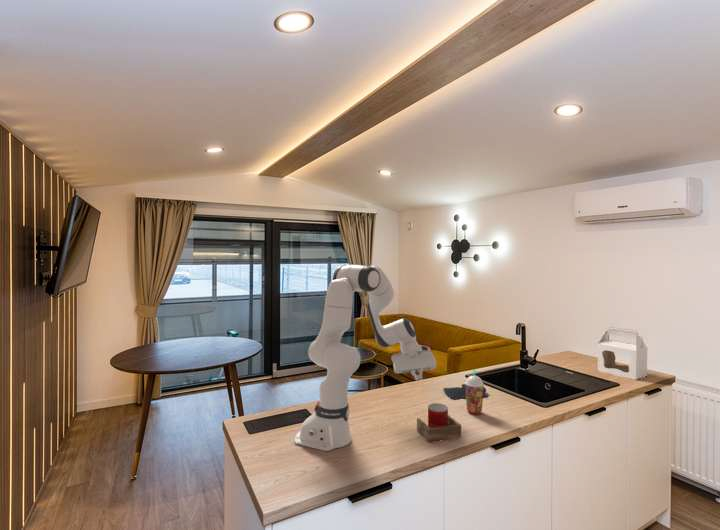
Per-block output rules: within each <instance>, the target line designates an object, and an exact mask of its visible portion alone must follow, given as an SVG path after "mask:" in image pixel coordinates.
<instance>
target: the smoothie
mask: <svg viewBox="0 0 720 530" xmlns="http://www.w3.org/2000/svg"><path fill="white" fill-rule="evenodd" d="M464 384H465V387H466V399H465V401H466V402H465V403H466V410H467V412H468V414H470V415H473V416H478V415H481V413H482V411H483V399H484V398H483V387H484V388H485V386H484V385H485V384H484V382H483V380H482V379H481V377H479V376H478V375H476V369H473V375H470V376H468V377H467V378H466V381H465V382H464Z"/></svg>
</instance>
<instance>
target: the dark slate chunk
mask: <svg viewBox="0 0 720 530" xmlns="http://www.w3.org/2000/svg"><path fill="white" fill-rule="evenodd" d="M443 392H444V393H445V394H446V395H447V396H448V397H449V399H451V400H453V401H460V399H464V400H466V387H465V383H464V384H463V383H462V384H461V387H460V386H459V387H458V386H456V387H444V388H443ZM486 392H487V389H486V388H485V386H484V387H483V399H485V397H488V398H489V395H488V394H486Z"/></svg>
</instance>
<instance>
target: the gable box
mask: <svg viewBox="0 0 720 530" xmlns="http://www.w3.org/2000/svg"><path fill="white" fill-rule="evenodd" d="M610 335H612V336H618V337H625V338H630V339H631V338H632V339H635V340H636V344H634V343H633V344H632V343H627V342H623V341H617V340H610ZM615 354H619V355H626V356H629V357H630V362H629V364H628V365H626V364H625V365H623V364H621V365H619V364H617V363H616V355H615ZM597 371H598V372H601V373H605V374H608V375H613V376H618V377H622V378H625V377H626V378H625V379H629V378H632V379H631V380H633V379H639V378H641V377H644V378H646V377H645V376H647V377H648V347H647V346H646V343H645V342H644V341H643V336H640V335H639V333H638V330H634V329H627V328H622V327H621V328H620V327H615V326H614V327H612V326H609V327H607V328H606V331H605V330H603V335H602V337H601V338H600V340H599V341H598V343H597ZM641 379H642V378H641ZM639 380H640V379H639Z"/></svg>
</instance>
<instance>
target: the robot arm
mask: <svg viewBox="0 0 720 530" xmlns="http://www.w3.org/2000/svg"><path fill="white" fill-rule="evenodd" d="M355 292H358V293H359V292H365V293H367V294H368V298H369V300H368V301H367V303H366V307H367V308H366V309H367V313H368V317H369V319H370V323H371V326H372V329H373V332H374V337H375V341H376V343H377V344H378V346H379V347H382V348H384V349H386V348H388V347H391V346H392V345H395V344H398V343H399V345H400V347H399V349H400V351H401V353H393V354H392V355H391V357H390V359H391V361H392V363H393V364H392V365H393V366H392V367H393V372H394V373H395V374H404V373H405V374H407V373H411V375H412V377H414V379H415V381H422V380H423V372H424V371H432V370H433V371H434V370H435V369H436V368H437V365H438V364H437V360H436V358H435V356H434V354H433V353H432V351H431V348H430V347H429V346H426V345H422V344H419V343H418V341H417V335H416V333H417V332H416V330H415V326H414V323H413V322H412V321H411V320H409V319H407V318H404V317H403V318H400V319H397V320H395V321H392V322H390V323H388V324H385V325H383V324H381V319H380V314H381V313H382V311H383V310H384V309H386V308H387V307H388V306H389V305H390V304H391V303H392V301H393V298H394V295H395V291H394V288H393V285H392V284H391V282H390V280H389V278H388V276H387V275H386V273H385V272H384V271H383V269H382V268H381V267H380V266H378V265H374V264H372V265H362V264H354V263H353V264H342V265H339V266H337V267H336V269H335V270H334V272H333V275H332V281H331V282H329V284H328V287H327V291H326V294H325V301H324V308H323V309H324V310H323V316H322V324H321V328H320V330H319V333H318V335H317V336H316V338H315V339H314V340H313V341H312V342H311V343H310V345H309V347H308V351H307V355H308V358H309V360H310V361H312V362H313V363H314V364H316V365H317V366H319V367H322V368H324V369H326V371H327V373H326V377H325V379H324V380H323V381H322V382H321V383H320V384H319V400H318V401H317V402H316V404H315V406H314V407H313V412H314V413H312V414H310V416H308V417H307V418H305V420H304V421H303V423H302V424H301V427H300V430H299V431H298V432H297V433H296V434H295V437H294V439H293V440H294V444H295V445H300V446H304V447H308V448H312V449H315V450H321V451H324V452H329V451H332V450H334V449H337V448H342V447H345V446H347V445H349V444H350V443H351V442H352V439H353V437H352V434H351V431H350V426H349V425H350V424H349V416H350V408H349V402H348V396H349V394H348V391H349V390H348V389H349V382H350V379H351V377H352V375H353V374H354V373H355V372H356V371H357V370H358V369H359V367H360V364H361V354H360V352H359V351H358V350H357V349H356V348H354V347H352V346H351V345H349V344H346V343H343V342H342V343H341V340H342V337H343V335H344V333H345V332H347V331H348V330H349V329H350V328H351V323H352V313H353V312H352V311H353V301H354V300H353V298H354V293H355ZM416 372H417V373H419V374H417V373H416Z"/></svg>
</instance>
